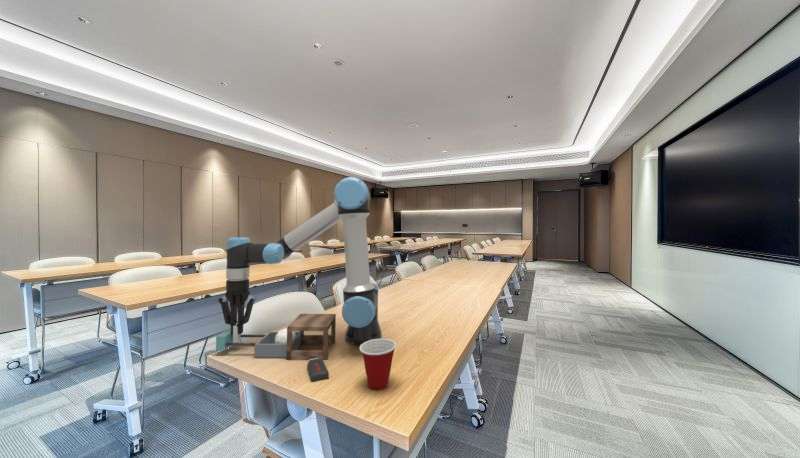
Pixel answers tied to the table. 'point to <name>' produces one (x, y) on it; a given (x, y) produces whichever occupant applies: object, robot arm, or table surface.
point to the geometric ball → (283, 336)
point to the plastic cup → (378, 361)
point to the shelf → (311, 324)
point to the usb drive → (317, 370)
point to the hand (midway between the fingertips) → (236, 342)
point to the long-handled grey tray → (259, 344)
